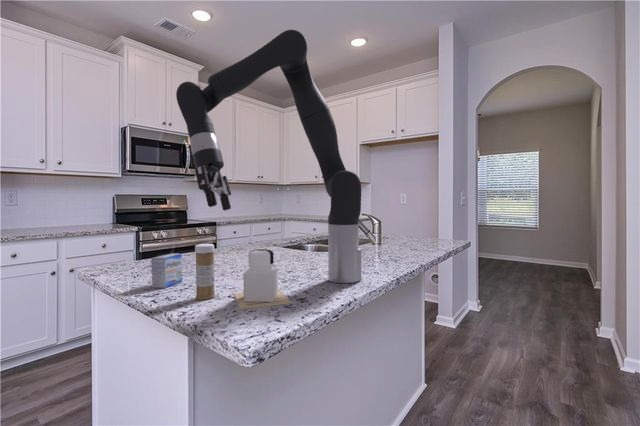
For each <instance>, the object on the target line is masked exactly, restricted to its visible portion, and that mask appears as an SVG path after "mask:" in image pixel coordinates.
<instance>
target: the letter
mask: <svg viewBox="0 0 640 426" xmlns="http://www.w3.org/2000/svg"><path fill="white" fill-rule="evenodd" d="M233 297H234V298H235V300H237V301H236V304H237V306H238V307H239V310H240V309H241V310H248V309H257V308H265V307H274V306H275V307H276V306H282V305H290V304H291V305H292V304H293V303H292V301H291V300H290V298H288V296H287V295H285V294H284V293H283V292H282V291H281V289H279V288H278V294H277V296H276V298H275V299H274V301H273V302H244V292H241V293H233Z"/></svg>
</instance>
